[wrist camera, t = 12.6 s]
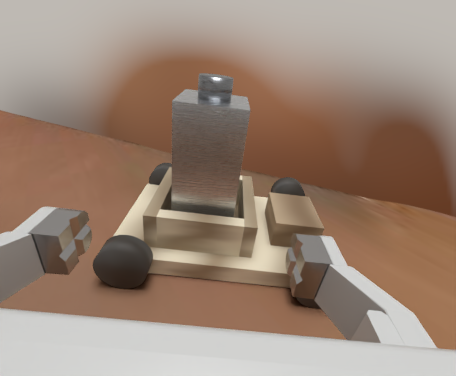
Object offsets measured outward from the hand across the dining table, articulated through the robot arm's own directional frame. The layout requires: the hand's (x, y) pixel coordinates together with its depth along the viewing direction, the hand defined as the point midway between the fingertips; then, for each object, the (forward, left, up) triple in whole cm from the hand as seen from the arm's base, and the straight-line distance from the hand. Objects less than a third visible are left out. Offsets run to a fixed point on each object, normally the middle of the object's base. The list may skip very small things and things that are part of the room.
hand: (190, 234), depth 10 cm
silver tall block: (0, +11, -8) cm, 14 cm away
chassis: (+2, +11, -9) cm, 15 cm away
